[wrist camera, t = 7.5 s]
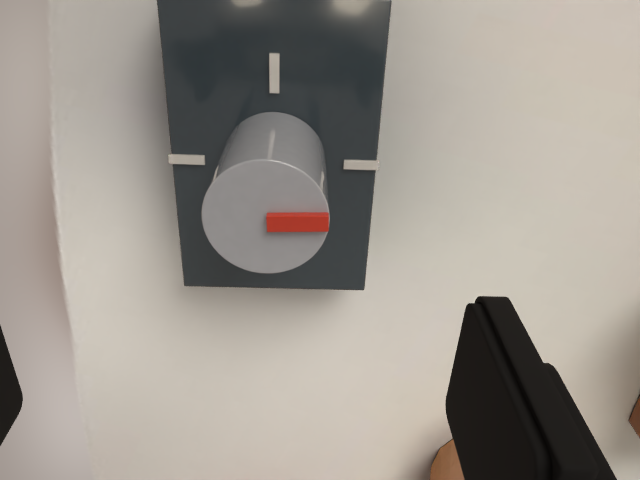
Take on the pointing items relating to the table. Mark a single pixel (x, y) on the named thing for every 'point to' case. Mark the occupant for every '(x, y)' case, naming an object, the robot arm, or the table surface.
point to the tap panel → (276, 96)
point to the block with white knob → (636, 418)
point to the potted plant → (447, 464)
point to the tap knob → (268, 195)
